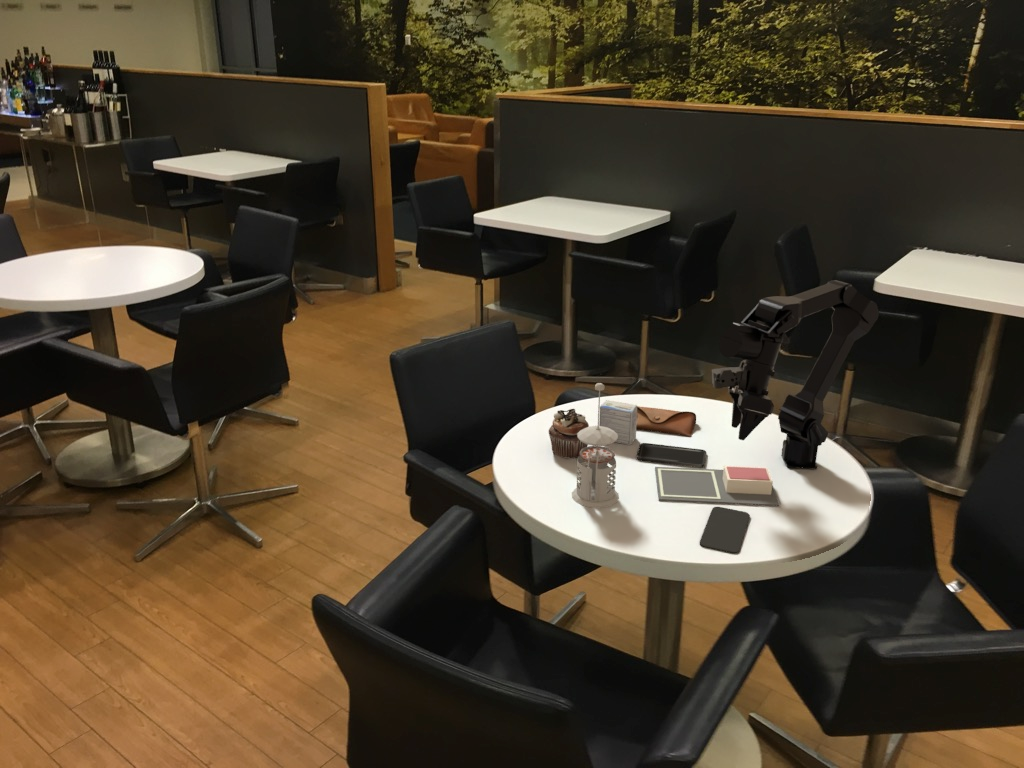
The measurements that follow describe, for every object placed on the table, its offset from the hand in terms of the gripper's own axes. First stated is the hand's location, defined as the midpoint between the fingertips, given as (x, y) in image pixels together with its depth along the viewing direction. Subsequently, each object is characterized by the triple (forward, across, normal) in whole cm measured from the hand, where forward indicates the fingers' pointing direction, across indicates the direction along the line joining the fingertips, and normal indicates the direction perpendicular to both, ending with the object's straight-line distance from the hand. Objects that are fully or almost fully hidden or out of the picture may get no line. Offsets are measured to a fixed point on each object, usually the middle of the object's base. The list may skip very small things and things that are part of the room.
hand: (737, 433), depth 174 cm
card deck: (+11, -1, +5) cm, 12 cm away
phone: (+16, +16, 0) cm, 22 cm away
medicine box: (+14, -22, -21) cm, 33 cm away
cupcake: (+17, -15, -32) cm, 39 cm away
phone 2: (+13, -14, -9) cm, 21 cm away
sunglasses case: (+11, -30, -12) cm, 34 cm away
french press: (+19, +6, -25) cm, 32 cm away
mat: (+13, -1, -1) cm, 13 cm away
